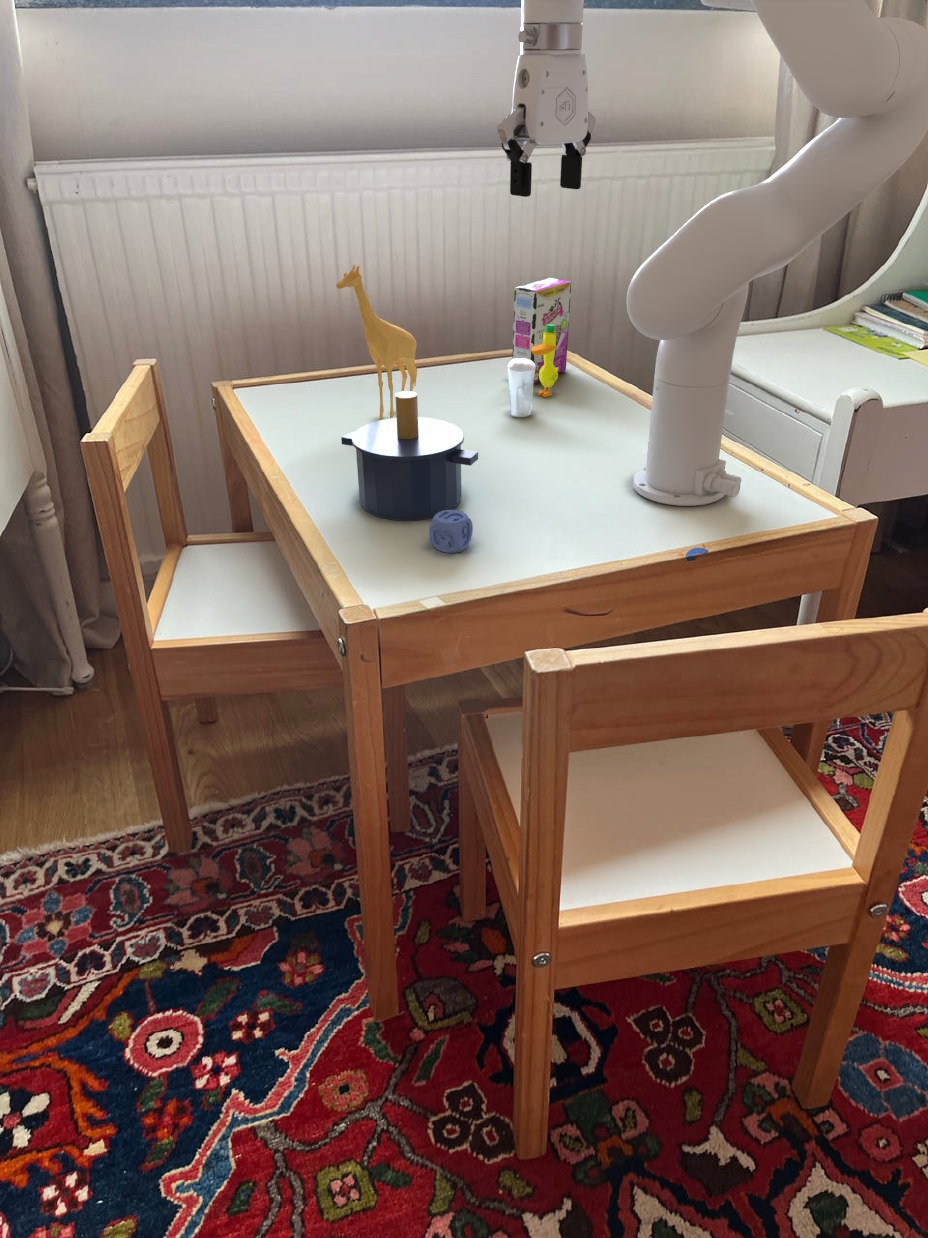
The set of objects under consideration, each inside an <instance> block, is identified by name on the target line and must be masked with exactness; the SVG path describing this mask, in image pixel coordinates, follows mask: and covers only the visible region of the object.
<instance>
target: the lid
mask: <svg viewBox="0 0 928 1238" xmlns="http://www.w3.org/2000/svg"><path fill="white" fill-rule="evenodd" d="M394 397H395V400H394V401H395V417H393V418H392V419H390V418H385V419H383V420H380V421H378V420H377V421H372V422H369V423H367V424H365V425H363V426H361V427H359V428H358V429H356V430H355V431H353V432H354V434H353V435H352V444H353V446H352V447H354V449H355V450H356V449H357V450H358V451H360V452H362V453H364V454H366V455H369V456H373V457H377V458H382V459H391V460H418V459H426V458H432V457H436V456H440V455H444V454H447V453H449V452H451V451H453V450H455V449H457V448H458V447H459V446H461V447H462V445H463V444H464V440H465V434H464V431H463V429H461V428H460V427H459V426H458V425H456V424H454V423H451V422H449V421H446V420H443V419H437V418H429V417H421V416H420V417H419V405H418V404H419V403H418V393H417V392H415V391H412V392H411V391H410V390H409V391H408V390H404V391H403V392H401V391H399V392H396V393H395V394H394Z"/></svg>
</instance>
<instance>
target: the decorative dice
mask: <svg viewBox="0 0 928 1238" xmlns="http://www.w3.org/2000/svg"><path fill="white" fill-rule="evenodd" d="M431 519H432V520H431V521H430V524H429V530H428V536H429V541H430V542H431V545H432V546H433V547H435V549H436V550H437V551H439V552H441V553H445V554H456V553H460V552H463V551H465V550H466V549H467V548H468V547H469V545H470V543H471V540H472V536H473V531H474V530H473V529H474V527H473V526H474V525H473V521H472V520H471V518H470V516H469V515H467V513H465V512H464V511H462V510H458V509H454V510H444V511H441V512H438V513H437V514H436V515H435V516H434V517H433V518H431Z"/></svg>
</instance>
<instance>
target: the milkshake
mask: <svg viewBox="0 0 928 1238" xmlns="http://www.w3.org/2000/svg"><path fill="white" fill-rule="evenodd" d="M540 356H541V355H540ZM539 358H540V357H539ZM538 360H539V359H538ZM537 362H538V361H537ZM535 367H536V365H535V363H534V362H533V361H531V360H528V359H526V358H521V359H513V360H512V359H511V360H510V361H509V362H508V364H507V367H506V368H507V378H508V390H509V408H510V409H509V410H510V415H511V416H512V417H514V418H527V417H529V416H531V413H532V402H533V392H534V385H535V383H534V376H535Z"/></svg>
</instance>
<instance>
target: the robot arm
mask: <svg viewBox="0 0 928 1238" xmlns="http://www.w3.org/2000/svg"><path fill="white" fill-rule="evenodd" d="M699 1H700V3H701V4H702V5H704V6H706V7H710V8H718V9H730V10H740V11H749V12H756V14H757V16H758V19H759V20H760V22H761V23H762V26H763V27H764V29H765V31H766V32H767V34H768V36H769V38H770V39H771V42H772V43H773V45H774V46H775V48H776V50H777V51H778V54H779V55H780V57H781V59H782V60H783V62H784V63H785V65H786V67H787V69H788V70H789V72H790V73H791V75H792V77H793V79H794V80H795V82H796V84H797V85H798V87H799V89H800V90H801V92H802V93H803V95H804V96H805V98H806V99H807V100H808V101H809V102H810V104H811V105H812V106H813V107H815V108H816V109H817V110H818V111H819V112H821V113H823V114H824V115H826V116H829V117H833V118H837V119H836V120H835V121H834V123H832V124H831V125H830V126H828V127H827V128H826V129H824V130H823V131H822V132H820V133H818V135H816V136H815V137H814V138H812V139H811V140H810V141H809V142H808V143H807V144H806V145H805V146H803V148H801V149H800V151H798V152H797V154H795V155H794V156H793V157H791V159H790V160H788V162H787V163H785V164H784V165H783V166H782V167H780V169H778V170H777V171H776V172H774V173H773V174H772V175H771V176H770V177H768V178H767V179H765V180H764V181H761V182H759V183H757V184H754V185H751V186H747V187H744V188H739V189H735V190H732V191H729V192H726V193H724V194H721V195H720V196H718V197H716V198H715V199H713V200H711V201H710V202H709V203H707V204H706V205H704V206H703V207H702V208H700V210H698V211H697V212H696V213H695V214H694V215H693V216H691V218H689V219H688V220H687V221H686V222H685V223H684V224H683V225H682V226H681V227H679V229H677V231H675V232H674V233H673V235H671V236H670V237H669V238H668V239H667V240H666V241H664V243H662V245H660V247H658V248H657V249H656V250H655V251H654V252H653V253H652V254H651V255H650V256H649V257H648V258H647V259H646V260H644V262H643V263H642V264H641V265H640V266H639V268H637V270H636V272H635V273H634V275H633V276H632V278H631V280H630V282H629V285H628V288H627V294H626V300H625V301H626V302H625V303H626V309H627V310H626V311H627V315H628V318H629V320H630V322H631V324H632V325H633V327H635V330H637V331H638V333H641V334H642V335H643V336H645V337H648V338H650V339H653V340H657V341H659V343H658V348H657V352H656V358H655V365H654V367H655V368H654V377H653V387H652V398H651V408H650V410H651V411H650V418H649V419H650V420H649V431H648V441H647V453H646V462H645V463H646V464H645V467H644V468H641V469H639V470H638V471H637V472H636V473H635V474H634V475H633V479H632V487H633V489H634V490H635V492H636V493H638V494H639V495H640V496H642V497H644V498H645V499H648V500H649V501H650V500H651V501H653V502H656V503H660V504H664V505H670V506H678V507H679V506H680V507H692V506H694V507H695V506H704V505H708V504H711V503H712V504H713V503H716V502H718V501H719V500H721V499H722V498H724V497H725V496H728V497H731V498H736V497H737V496H738V495H739V494H740V490H741V483H742V478H741V477H740V476H737V475H735V474H730V473H728V472H727V471H726V466H727V465H726V464H727V461H726V460H724V459H720V453H721V446H722V440H723V432H724V424H725V416H726V409H727V402H728V394H729V385H730V380H731V374H732V367H733V359H734V353H735V348H736V342H737V338H738V333H739V330H740V327H741V322H742V319H743V316H744V312H745V309H746V305H747V300H748V296H749V286H750V285H749V283H750V282H752V281H753V280H755V279H757V278H760V277H763V276H766V275H768V274H771V273H773V272H776V271H777V270H778V271H779V270H780V269H782V268H784V267H786V266H787V265H788V264H790V263H791V262H792V261H794V259H796V258H797V257H798V256H799V255H800V254H801V253H802V252H803V251H804V250H806V249H807V248H808V247H810V245H812V244H813V243H814V242H815V241H816V240H817V239H819V238H820V237H821V236H822V235H823V234H825V233H826V232H827V231H828V230H829V229H831V228H833V226H835V225H836V224H838V222H839V221H841V220H842V219H844V217H845V216H846V215H848V214H849V213H850V212H851V211H852V210H853V209H854V208H855V207H857V206H859V204H860V203H861V202H863V201H864V200H865V199H866V198H867V197H868V196H870V195H871V194H872V193H874V192H875V191H876V190H878V188H879V187H881V186H882V185H883V184H884V183H885V182H887V180H888V179H890V178H891V177H892V176H893V175H894V174H895V173H896V172H897V171H898V170H899V169H901V167H902V166H903V164H905V163H906V161H907V160H908V159H910V157H911V155H912V154H913V153H914V152H915V150H916V149H917V148H918V147H919V145H920V144H921V142H922V140H923V139H924V137H925V135H926V133H927V132H928V30H927V29H926V28H925V27H923V26H922V25H921V24H919V23H918V22H915V21H913V20H909V19H906V18H903V17H893V16H892V17H890V16H889V17H887V16H885V17H884V16H875V14H874V13H873V11H872V9H871V8H870V6H869V5H868V3H867V1H866V0H699ZM584 3H585V0H521V12H520V13H521V17H520V19H521V21H520V23H521V24H520V25H521V26H520V31H519V33H518V41H519V42H520V54H518V57H517V62H516V67H515V73H514V81H513V91H512V103H511V105H512V106H511V112H510V113H509V114H508V115H507V116H505V118H503V119H502V120H501V121H500V122H499V123H498V124H497V127H496V128H497V132H498V135H499V139H500V142H501V148H502V150H503V151H504V153H505V155H506V160H507V161H508V162H510V175H509V180H510V182H509V193H510V195H511V196H516V197H523V198H527V197H530V196H531V194H532V174H533V173H532V171H533V166H532V163H533V162H530V161H529V159H530V158H531V155H532V154H533V152H534V150H535V148H536V146H537V145H540V146H552V145H553V146H554V145H561V147H562V150H563V152H564V153H565V154H561V158H560V177H559V179H560V180H559V186H560V188H563V189H571V190H580V189H581V188H582V169H583V157H585V155H586V153H587V146H588V145H589V143H590V142H591V140H592V133H593V130H594V127H595V124H596V122H597V121H596V116H594V115H593V114H592V113H591V112H590V111H589V82H588V81H589V80H588V70H587V61H586V55H585V53H582V44H583V27H584V26H583V25H584V24H583V23H584V6H585V5H584Z"/></svg>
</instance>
